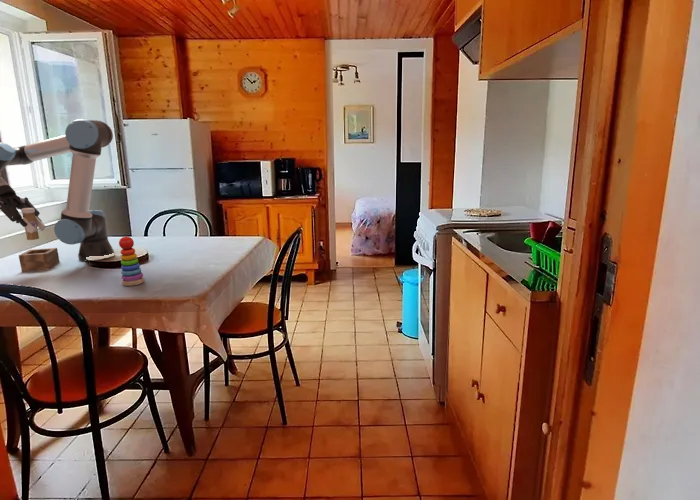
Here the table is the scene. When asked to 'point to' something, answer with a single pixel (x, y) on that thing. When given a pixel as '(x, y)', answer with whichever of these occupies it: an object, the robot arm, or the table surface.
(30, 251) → the walnut socket block
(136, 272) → the stacking toy
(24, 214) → the sprinkles bottle
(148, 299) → the table surface
